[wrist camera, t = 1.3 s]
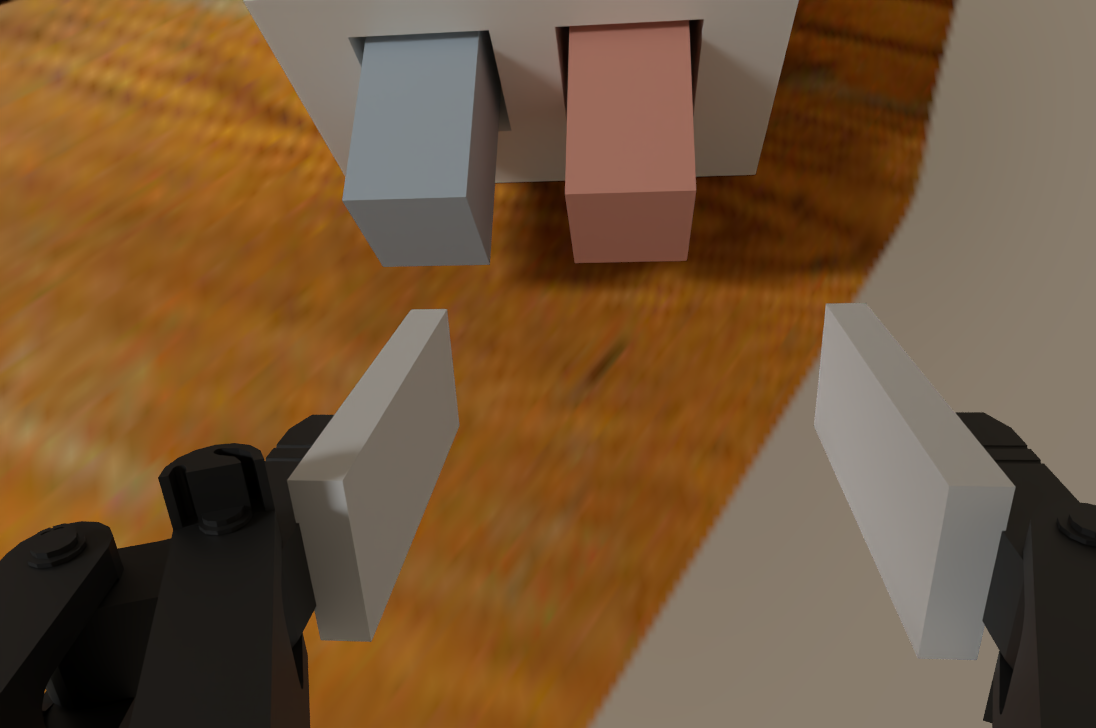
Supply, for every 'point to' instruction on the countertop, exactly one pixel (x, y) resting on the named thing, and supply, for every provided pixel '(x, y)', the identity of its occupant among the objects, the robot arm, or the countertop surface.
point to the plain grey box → (541, 67)
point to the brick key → (630, 142)
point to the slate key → (425, 148)
